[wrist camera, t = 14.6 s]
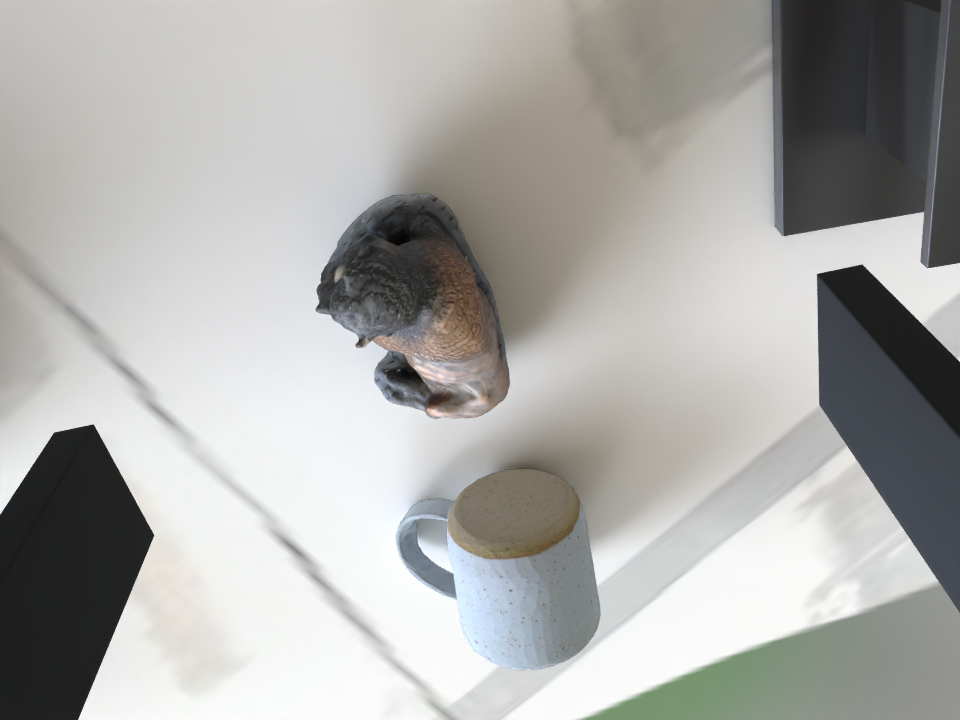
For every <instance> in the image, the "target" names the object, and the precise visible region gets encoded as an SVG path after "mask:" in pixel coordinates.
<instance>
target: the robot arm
mask: <svg viewBox="0 0 960 720" xmlns="http://www.w3.org/2000/svg"><path fill="white" fill-rule="evenodd" d="M817 295H818V351H819V405H820V406H821V408H822V409H823V411H824V412H825V414H826V415H827V417H828V418H829V419H830V421H831V422H832V424H833V425H834V427H835V428H836V430H837V431H838V433H839V434H840V436H841V437H842V439H843V440H844V442H845V443H846V445H847V446H848V448H849V449H850V451H851V452H852V454H853V455H854V456H855V458H856V459H857V461H858V462H859V464H860V465H861V467H862V468H863V470H864V471H865V473H866V474H867V476H868V477H869V479H870V480H871V482H872V483H873V485H874V486H875V488H876V489H877V491H878V492H879V494H880V495H881V496H882V498H883V499H884V501H885V502H886V504H887V505H888V507H889V508H890V510H891V511H892V513H893V514H894V516H895V517H896V519H897V520H898V522H899V523H900V525H901V526H902V528H903V529H904V531H905V532H906V534H907V535H908V536H909V538H910V539H911V541H912V542H913V544H914V545H915V547H916V548H917V550H918V551H919V553H920V554H921V556H922V557H923V559H924V560H925V562H926V563H927V565H928V566H929V568H930V569H931V571H932V572H933V574H934V575H935V576H936V578H937V579H938V581H939V582H940V584H941V585H942V587H943V588H944V590H945V591H946V593H947V594H948V596H949V597H950V599H951V600H952V602H953V603H954V605H955V606H956V608H957V609H958V610H959V612H960V362H959V361H958V360H957V359H956V358H955V357H954V356H953V355H952V354H951V353H950V352H949V351H948V350H947V349H946V348H945V347H944V346H943V345H942V344H941V343H940V342H939V341H938V340H937V339H936V338H935V337H934V336H933V335H932V334H931V333H930V332H929V331H928V330H927V329H926V328H925V327H924V326H923V325H922V324H921V323H920V322H919V321H918V320H917V319H916V318H915V317H914V316H913V315H912V314H911V313H910V312H909V311H908V310H907V309H906V308H905V307H904V306H903V305H902V304H901V303H900V302H899V301H898V300H897V299H896V298H895V297H894V296H893V295H892V294H891V293H890V292H889V291H888V290H887V289H886V288H885V287H884V286H883V285H882V284H881V283H880V282H879V281H878V280H877V279H876V278H875V277H874V276H873V275H872V274H871V273H870V272H869V271H868V270H867V269H866V268H865V267H864V266H863V265H858V266H853V267H849V268H844V269H839V270H834V271H829V272H824V273H820V274H817ZM153 537H154V534H153V532H152V530H151V528H150V527H149V525H148V523H147V521H146V519H145V517H144V516H143V514H142V512H141V510H140V508H139V507H138V505H137V503H136V501H135V499H134V497H133V496H132V494H131V492H130V490H129V488H128V486H127V485H126V483H125V481H124V479H123V477H122V475H121V474H120V472H119V470H118V468H117V466H116V464H115V463H114V461H113V459H112V457H111V455H110V453H109V452H108V450H107V448H106V446H105V444H104V442H103V441H102V439H101V437H100V435H99V433H98V431H97V430H96V428H95V426H94V424H93V425H89V426H84V427H79V428H74V429H69V430H64V431H60V432H55V433H54V434H53V435H52V437H51V438H50V440H49V441H48V443H47V444H46V446H45V447H44V449H43V451H42V452H41V454H40V455H39V457H38V458H37V460H36V461H35V463H34V464H33V466H32V467H31V469H30V470H29V472H28V473H27V475H26V476H25V478H24V480H23V481H22V483H21V484H20V486H19V487H18V489H17V490H16V492H15V493H14V495H13V496H12V498H11V499H10V501H9V502H8V504H7V505H6V507H5V508H4V510H3V512H2V513H1V515H0V720H78V719H79V716H80V714H81V711H82V709H83V706H84V704H85V702H86V699H87V697H88V694H89V692H90V690H91V687H92V685H93V682H94V680H95V677H96V675H97V673H98V670H99V668H100V665H101V663H102V661H103V658H104V656H105V653H106V651H107V648H108V646H109V644H110V641H111V639H112V636H113V634H114V632H115V629H116V627H117V624H118V622H119V619H120V617H121V615H122V612H123V610H124V607H125V605H126V603H127V600H128V598H129V595H130V593H131V590H132V588H133V586H134V583H135V581H136V578H137V576H138V574H139V571H140V569H141V566H142V564H143V561H144V559H145V557H146V554H147V552H148V549H149V547H150V544H151V542H152V540H153Z"/></svg>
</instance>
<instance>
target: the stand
mask: <svg viewBox="0 0 960 720" xmlns="http://www.w3.org/2000/svg"><path fill="white" fill-rule="evenodd" d="M772 41H773V119H774V197H775V227H776V228H777V230H778V231H779V232H780V233H781V235H782V236H787V235H793V234H799V233H805V232H810V231H816V230H822V229H828V228H833V227H839V226H845V225H851V224H856V223H862V222H868V221H874V220H879V219H885V218H891V217H897V216H902V215H908V214H914V213H920V212H924V224H923V236H922V249H921V263H922V264H923V265H924V266H925V267H926V268H933V267H938V266H944V265H950V264H956V263H960V0H772Z"/></svg>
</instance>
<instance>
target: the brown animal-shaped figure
mask: <svg viewBox="0 0 960 720" xmlns="http://www.w3.org/2000/svg"><path fill="white" fill-rule="evenodd" d="M317 294H318V298H319V305H318V306H317V307H316V312H318V313H322V314H329V315H331V316H332V318H333V319H334V320H335V321H336V322H338V323H340V324H341V325H342V326H343V327H344V328H346V329H348V330H350V331H352V332H354V333H355V334H356V335H357V336H358V337H359V341H358V343H356V345H355V346H356V347H357V348H363V347H365V346H366V345H367V344H368V343H369V342H370V341H371V340H372V341H374V342H375V343H376V344H377V345H379V346H381V347H383V348H384V349H386V350H388V353H387V355H386V356H385V357H384V359H382V360H381V361H380V362H379V363H378V365H377V367H376V369H375V372H374V373H375V383H376V385H377V386H378V387H379V388H380V390H381V391H382V393H383V395H384V396H385V398H386V399H387V400H388V401H390V402H392V403H395V404H398V405H404V406H409V407H413V408H416V409H420V410H423V411H425V412H426V414H427V415H428V416H429V417H431V418H435V419H437V418H440V417H448V418H473V417H478V416H481V415H483V414H485V413H487V412H489V411H490V410H491V409H493V408H494V407H495V406H496V405H497V404H498V403H500V402H501V401H503V400H504V398H505V397H506V395H507V393H508V389H509V385H510V379H509V369H508V364H507V359H506V352H505V343H504V338H503V334H502V330H501V327H500V322H499V316H498V311H497V307H496V302H495V299H494V296H493V292H492V289H491V287H490V284H489V282H488V281H487V279H486V277H485V275H484V274H483V272H482V270H481V269H480V267H479V265H478V264H477V262H476V260H475V258H474V257H473V255H472V253H471V250H470V248H469V246H468V244H467V243H466V241H465V238H464V235H463V233H462V231H461V229H460V227H459V224H458V222H457V219H456V217H455V215H454V213H453V212H452V210H451V209H450V208H449V207H448V206H447V205H446V204H445V203H443V202H442V201H441V200H439V199H438V198H436V197H435V196H432V195H428V194H411V195H394V196H390V197H388V198H385V199H383V200H381V201H378V202H377V203H375V204H374V205H372V206H371V207H369V208H368V209H367V210H366V211H365V212H363V213H362V214H361V215H360V216H359V217H358V218H357V219H356V220H355V221H354V222H353V223H352V224H351V225H350V226H349V227H348V229H347V230H346V231H345V232H344V234H343V235H342V237H341V238H340V240H339V241H338V244H337V248H336V250H335V251H334V253H333V254H332V256H331V258H330V260H329V262H328V264H327V265H326V266H325V268H324V270H323V272H322V273H321V283H320V285H319V286H318V287H317Z"/></svg>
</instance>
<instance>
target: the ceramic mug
mask: <svg viewBox="0 0 960 720" xmlns="http://www.w3.org/2000/svg"><path fill="white" fill-rule="evenodd" d="M420 518H425V519H427V518H433V519H436V520H444V521H447V522H448V527H447V543H448V550H449V556H450V561H451V565H452V569H453V573H451V572H448V571H447V570H445V569H443V568H441V567H439V566H438V565H436V564H435V563H434V562H432V561H431V560H430V559H429V558H428V557H427V556H425V555H424V554H423V552H422V551H421V549H420V547H419V546H418V541H417V533H416V528H417V525H418V522H417V519H420ZM396 544H397V550H398V553H399V556H400V558H401V560H402V562H403V563H404V565H405V566H406V568H407V569H408V570H409V571H410V573H411V574H412V575H413V576H414V577H416V578H417V579H418V580H419V581H421V582H422V583H423V584H425V585H426V586H428V587H429V588H431V589H433V590H435V591H436V592H438V593H440V594H442V595H445V596H448V597H451V598H453V599H456V600H457V602H458V607H459V616H460V621H461V626H462V630H463V633H464V635H465V638H466V639H467V641H468V642H469V644H470V645H471V647H472V649H473V650H474V651H475V652H477V653H478V654H479V655H480V656H482V657H484V658H485V659H487V660H488V661H489V662H492V663H494V664H497V665H500V666H503V667H506V668H510V669H517V670H527V669H530V670H536V669H542V668H546V667H551V666H554V665H557V664H559V663H562V662H564V661H566V660H568V659H570V658H572V657H573V656H575V655H576V654H578V653H579V652H580V651H581V650H582V649H583V648H584V647H585V646H586V645H587V644H588V643H589V641H590V640H591V639H592V637H593V636H594V634H595V632H596V630H597V627H598V624H599V619H600V603H599V597H598V592H597V585H596V579H595V572H594V565H593V559H592V554H591V549H590V542H589V534H588V527H587V521H586V517H585V514H584V511H583V509H582V506H581V503H580V500H579V498H578V496H577V494H576V493H575V491H574V490H573V488H572V487H571V486H570V485H569V484H568V483H567V482H565V481H564V480H563V479H561V478H559V477H557V476H555V475H553V474H550V473H547V472H544V471H540V470H535V469H508V470H504V471H500V472H496V473H492V474H489V475H487V476H485V477H482V478H480V479H478V480H477V481H475V482H474V483H472V484H471V485H469V486H468V487H466V488H465V489H464V490H463V491H462V492H461V493H460V494H459V496H458V497H457V498H456V500H455V501H451V500H448V499H442V498H437V499H428V500H422V501H420V502H418V503H416V504H415V505H413V506H412V507H411V508H410V510H409V511H408V512H407V514H406V515H405V517H404V518H403V519H402V521H401V522H400V524H399V526H398V528H397V533H396Z"/></svg>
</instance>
